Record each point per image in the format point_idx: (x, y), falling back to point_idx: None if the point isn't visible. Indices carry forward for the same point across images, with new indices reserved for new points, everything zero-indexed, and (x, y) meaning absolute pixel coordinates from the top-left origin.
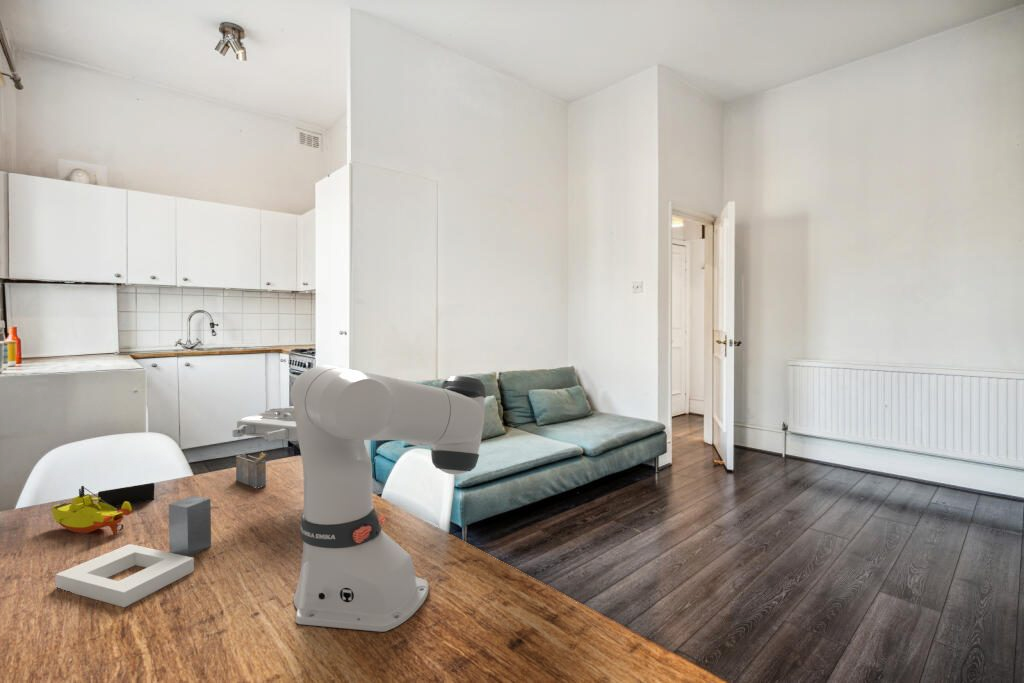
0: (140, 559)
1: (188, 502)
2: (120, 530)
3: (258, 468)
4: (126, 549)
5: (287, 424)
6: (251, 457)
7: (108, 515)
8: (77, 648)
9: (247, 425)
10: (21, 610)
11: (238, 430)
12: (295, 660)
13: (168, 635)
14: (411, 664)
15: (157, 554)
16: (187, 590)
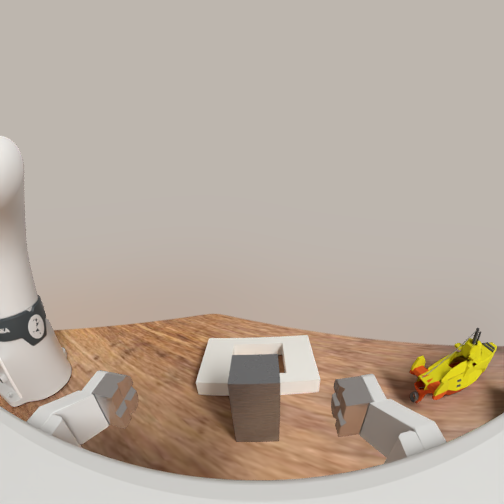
0: None
1: (251, 365)
2: (412, 400)
3: None
4: (305, 372)
5: (16, 432)
6: None
7: (425, 373)
8: (198, 326)
9: (406, 445)
10: (290, 331)
11: (338, 384)
12: (64, 334)
13: (147, 339)
14: None
15: None
16: (175, 372)
